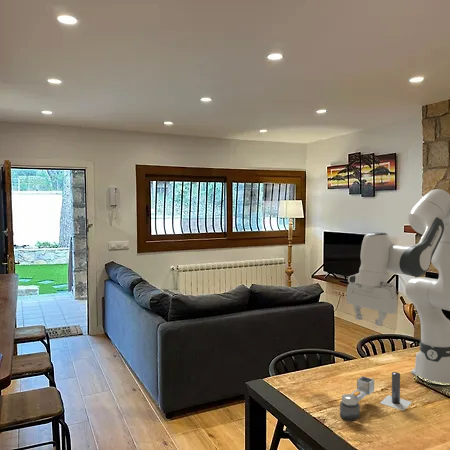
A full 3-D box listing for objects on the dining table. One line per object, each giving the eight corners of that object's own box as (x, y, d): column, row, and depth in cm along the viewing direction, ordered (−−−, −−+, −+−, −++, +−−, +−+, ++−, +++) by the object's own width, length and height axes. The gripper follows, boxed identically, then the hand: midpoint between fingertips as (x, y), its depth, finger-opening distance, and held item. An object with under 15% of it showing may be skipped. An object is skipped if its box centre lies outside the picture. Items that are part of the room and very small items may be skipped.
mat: (388, 396, 146) (388, 395, 146) (412, 403, 141) (412, 401, 141) (379, 404, 140) (379, 403, 140) (403, 412, 135) (403, 410, 135)
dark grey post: (393, 400, 142) (393, 371, 142) (401, 402, 140) (401, 373, 140) (390, 402, 140) (390, 373, 140) (398, 405, 138) (398, 375, 138)
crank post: (345, 410, 137) (345, 398, 137) (362, 416, 133) (362, 403, 133) (336, 416, 132) (336, 404, 132) (354, 423, 128) (354, 410, 128)
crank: (353, 409, 129) (353, 396, 129) (338, 404, 132) (338, 391, 132) (375, 391, 141) (375, 379, 141) (361, 387, 144) (361, 375, 144)
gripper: (403, 285, 128) (400, 329, 128) (359, 278, 147) (355, 316, 147) (388, 283, 126) (384, 329, 125) (344, 276, 145) (341, 316, 144)
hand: (368, 322), depth 136 cm, fingers open, 8 cm apart
